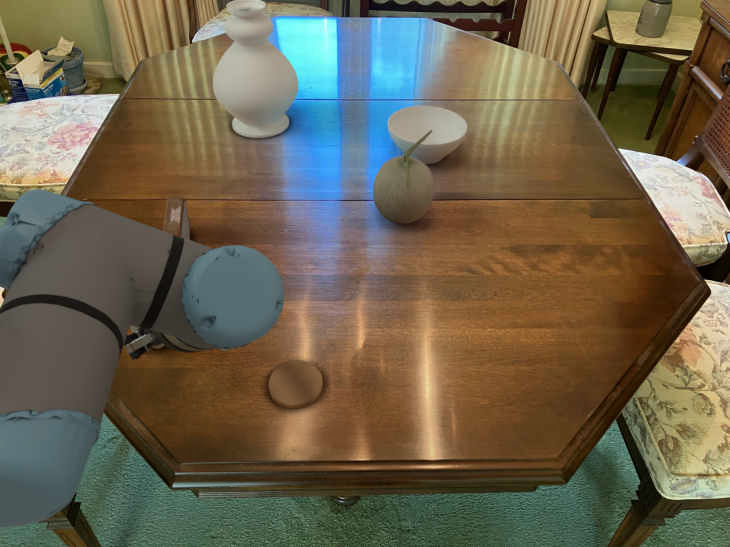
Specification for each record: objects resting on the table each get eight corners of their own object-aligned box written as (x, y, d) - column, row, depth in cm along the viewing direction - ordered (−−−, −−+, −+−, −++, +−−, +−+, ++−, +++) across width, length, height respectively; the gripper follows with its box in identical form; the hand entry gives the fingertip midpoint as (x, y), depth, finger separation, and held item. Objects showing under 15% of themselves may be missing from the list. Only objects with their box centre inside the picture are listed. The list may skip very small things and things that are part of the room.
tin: (176, 227, 96) (164, 186, 90) (194, 225, 96) (184, 185, 90) (169, 287, 85) (156, 245, 79) (190, 285, 85) (179, 243, 80)
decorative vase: (296, 145, 116) (286, 22, 99) (212, 143, 116) (188, 20, 99) (304, 106, 129) (297, -9, 112) (229, 104, 129) (210, -11, 112)
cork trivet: (290, 418, 69) (290, 414, 68) (258, 383, 72) (257, 380, 72) (333, 387, 72) (333, 383, 71) (300, 355, 76) (300, 351, 75)
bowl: (396, 179, 108) (398, 147, 103) (378, 138, 119) (379, 108, 114) (473, 172, 110) (479, 140, 105) (449, 132, 121) (453, 102, 117)
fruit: (372, 238, 94) (374, 162, 84) (372, 198, 103) (374, 125, 93) (433, 239, 94) (443, 163, 84) (428, 199, 103) (436, 127, 93)
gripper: (153, 384, 50) (126, 380, 70) (272, 312, 57) (216, 328, 77) (110, 312, 49) (95, 329, 70) (236, 248, 56) (189, 281, 76)
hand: (158, 329), depth 73 cm, fingers closed
